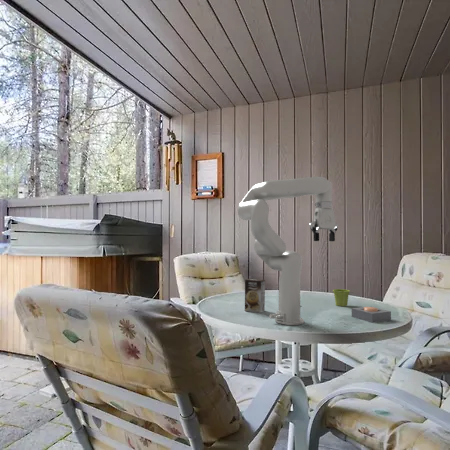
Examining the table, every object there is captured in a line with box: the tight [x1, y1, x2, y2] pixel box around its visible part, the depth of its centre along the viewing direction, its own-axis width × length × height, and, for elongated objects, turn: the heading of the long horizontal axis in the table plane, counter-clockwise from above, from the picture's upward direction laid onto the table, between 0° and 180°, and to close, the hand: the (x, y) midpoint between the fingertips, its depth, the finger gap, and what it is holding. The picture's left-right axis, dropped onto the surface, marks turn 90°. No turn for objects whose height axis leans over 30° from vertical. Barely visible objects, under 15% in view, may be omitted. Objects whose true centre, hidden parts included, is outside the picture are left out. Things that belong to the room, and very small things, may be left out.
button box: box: [351, 306, 392, 323], centre depth 149 cm, size 12×12×4 cm
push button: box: [363, 306, 379, 312], centre depth 149 cm, size 6×6×3 cm
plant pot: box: [332, 288, 351, 307], centre depth 180 cm, size 9×9×9 cm
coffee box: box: [244, 278, 266, 314], centre depth 164 cm, size 9×6×16 cm
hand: (324, 241), depth 154 cm, fingers open, 9 cm apart
